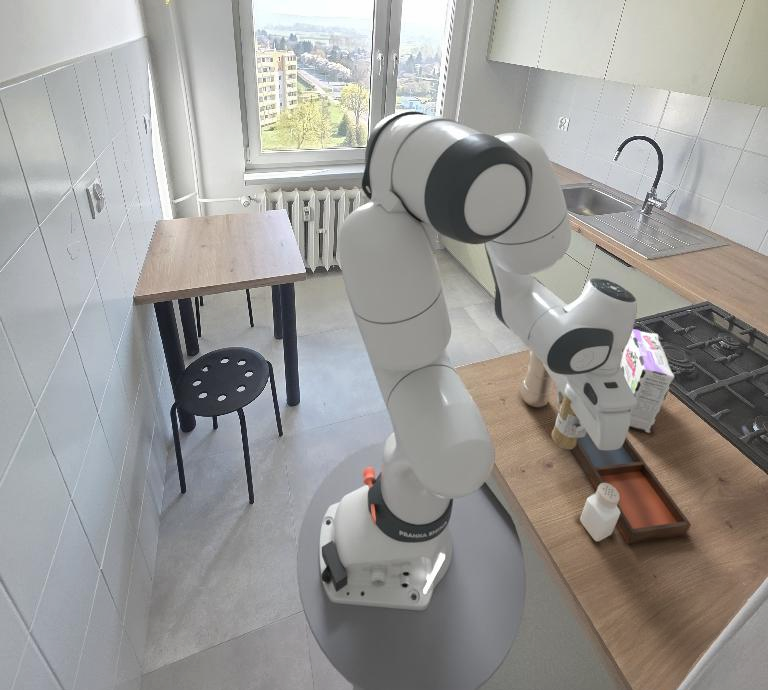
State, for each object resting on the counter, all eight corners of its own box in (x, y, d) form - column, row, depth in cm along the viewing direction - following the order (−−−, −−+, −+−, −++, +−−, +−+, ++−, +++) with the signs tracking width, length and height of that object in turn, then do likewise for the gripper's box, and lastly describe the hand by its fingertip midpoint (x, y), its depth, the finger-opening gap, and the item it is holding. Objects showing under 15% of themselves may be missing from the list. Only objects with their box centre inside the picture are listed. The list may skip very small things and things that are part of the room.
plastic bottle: (513, 398, 97) (528, 329, 89) (528, 383, 101) (544, 317, 93) (538, 416, 93) (557, 346, 85) (553, 400, 97) (572, 331, 89)
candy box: (612, 380, 103) (630, 326, 97) (638, 387, 102) (659, 333, 95) (621, 425, 91) (642, 368, 85) (651, 434, 90) (676, 376, 83)
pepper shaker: (595, 544, 70) (610, 508, 66) (577, 520, 73) (590, 484, 69) (613, 534, 71) (628, 499, 67) (594, 511, 74) (607, 476, 71)
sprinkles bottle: (550, 426, 83) (565, 375, 78) (574, 433, 82) (592, 381, 76) (551, 446, 79) (568, 393, 73) (577, 454, 78) (596, 400, 72)
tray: (627, 543, 70) (632, 533, 69) (559, 428, 90) (562, 419, 89) (685, 535, 72) (691, 524, 70) (605, 424, 91) (609, 414, 90)
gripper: (542, 326, 82) (528, 379, 87) (608, 413, 63) (585, 474, 69) (572, 324, 83) (556, 377, 88) (645, 410, 64) (619, 471, 69)
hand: (569, 420), depth 78 cm, fingers closed on sprinkles bottle, 4 cm apart
